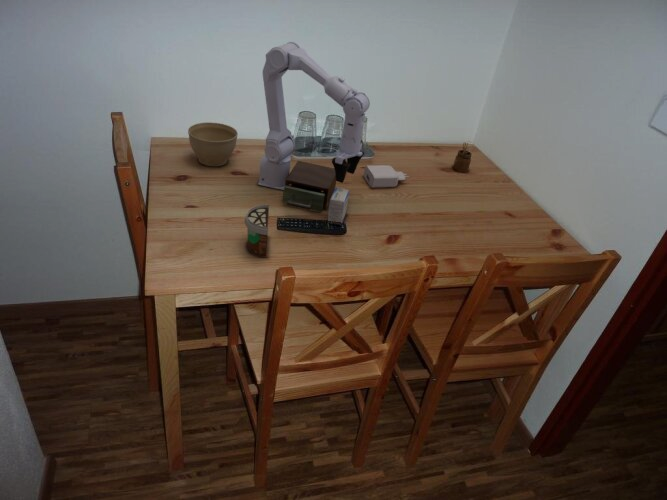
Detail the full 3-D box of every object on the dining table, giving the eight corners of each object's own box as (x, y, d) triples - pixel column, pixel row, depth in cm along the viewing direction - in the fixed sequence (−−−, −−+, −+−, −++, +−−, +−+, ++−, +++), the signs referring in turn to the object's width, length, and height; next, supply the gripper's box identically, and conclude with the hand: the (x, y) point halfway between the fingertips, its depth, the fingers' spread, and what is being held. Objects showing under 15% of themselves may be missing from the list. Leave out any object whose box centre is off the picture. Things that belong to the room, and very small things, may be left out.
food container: (245, 232, 143) (246, 202, 137) (267, 234, 143) (269, 203, 138) (242, 259, 133) (243, 226, 127) (266, 260, 133) (268, 228, 128)
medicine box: (341, 227, 152) (345, 201, 147) (326, 223, 152) (330, 198, 147) (345, 214, 158) (349, 189, 153) (331, 211, 159) (335, 186, 154)
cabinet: (325, 210, 159) (328, 188, 154) (283, 201, 160) (285, 179, 156) (335, 189, 170) (338, 169, 166) (296, 181, 172) (297, 160, 167)
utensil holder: (469, 169, 198) (478, 140, 192) (464, 174, 194) (473, 145, 187) (455, 164, 201) (464, 135, 194) (450, 169, 196) (458, 140, 189)
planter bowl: (232, 174, 170) (233, 143, 164) (183, 168, 169) (182, 137, 163) (240, 154, 183) (241, 125, 177) (195, 148, 182) (194, 119, 176)
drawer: (317, 221, 151) (319, 204, 148) (277, 212, 152) (278, 195, 149) (330, 192, 166) (333, 176, 163) (294, 184, 168) (296, 168, 164)
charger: (411, 188, 179) (371, 188, 174) (401, 175, 186) (363, 176, 181) (414, 175, 176) (374, 176, 172) (404, 163, 183) (365, 164, 179)
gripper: (353, 147, 142) (346, 190, 150) (373, 132, 153) (366, 172, 161) (331, 140, 144) (325, 182, 152) (352, 125, 155) (346, 166, 163)
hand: (345, 177), depth 157 cm, fingers open, 7 cm apart
